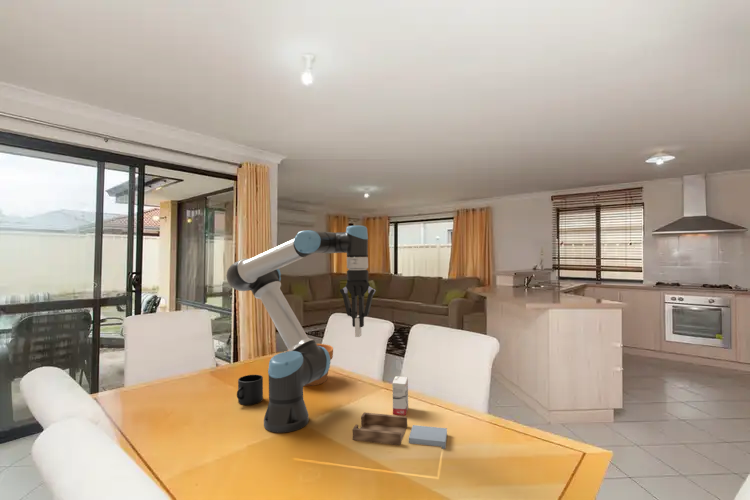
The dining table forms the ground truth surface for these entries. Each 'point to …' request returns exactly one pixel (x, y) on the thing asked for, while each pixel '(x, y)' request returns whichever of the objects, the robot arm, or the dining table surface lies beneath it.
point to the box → (381, 428)
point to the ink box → (400, 395)
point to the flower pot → (323, 378)
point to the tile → (428, 436)
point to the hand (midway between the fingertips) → (358, 336)
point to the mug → (250, 389)
